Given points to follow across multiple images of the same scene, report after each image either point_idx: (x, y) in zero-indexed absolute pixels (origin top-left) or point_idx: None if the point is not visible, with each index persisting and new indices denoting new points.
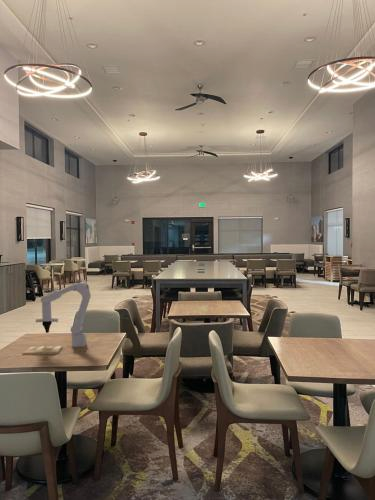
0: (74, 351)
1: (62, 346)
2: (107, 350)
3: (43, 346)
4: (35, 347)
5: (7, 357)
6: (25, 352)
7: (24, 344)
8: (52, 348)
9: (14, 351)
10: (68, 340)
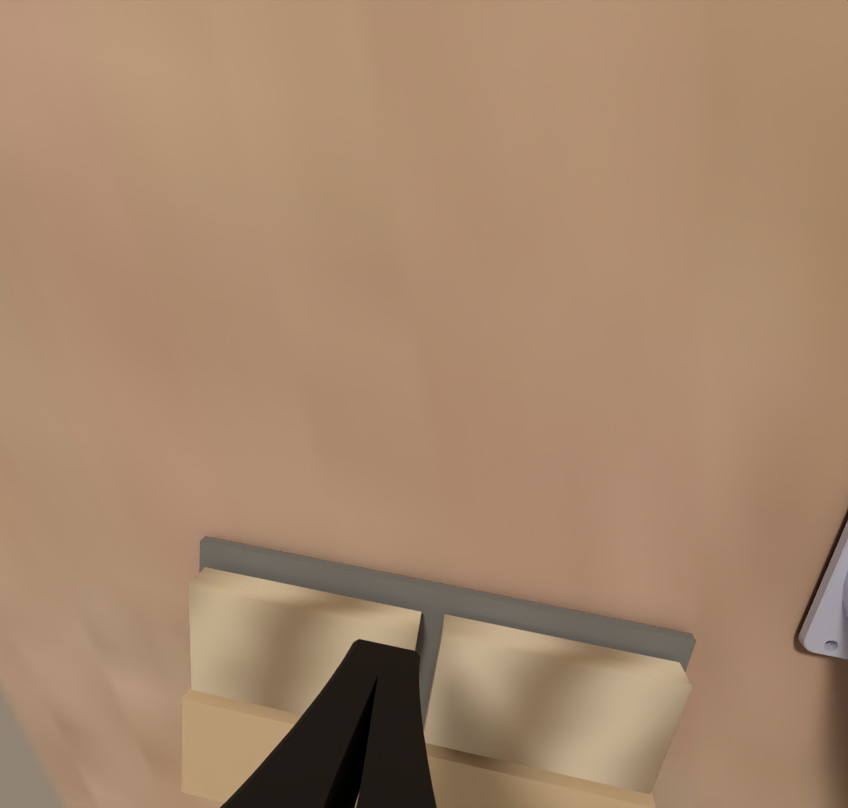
0: (844, 799)
1: (689, 684)
2: None
3: (381, 628)
4: (272, 637)
5: (66, 761)
6: (210, 790)
7: (5, 196)
8: (535, 744)
9: (34, 560)
10: (802, 37)
